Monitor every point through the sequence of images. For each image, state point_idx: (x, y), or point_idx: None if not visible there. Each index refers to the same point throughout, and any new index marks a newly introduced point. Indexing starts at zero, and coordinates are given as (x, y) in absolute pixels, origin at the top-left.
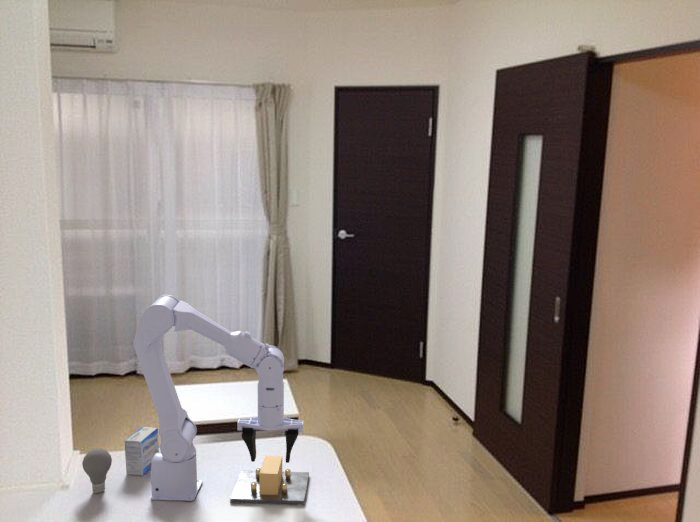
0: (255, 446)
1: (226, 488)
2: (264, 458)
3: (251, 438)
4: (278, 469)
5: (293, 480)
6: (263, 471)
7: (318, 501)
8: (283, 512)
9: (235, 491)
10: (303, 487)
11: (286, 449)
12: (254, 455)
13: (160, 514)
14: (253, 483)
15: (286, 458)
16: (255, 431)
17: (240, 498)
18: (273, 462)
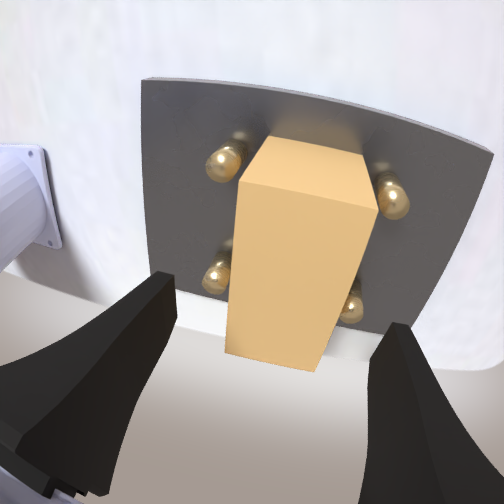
0: (134, 326)
1: (120, 185)
2: (237, 222)
3: (107, 483)
4: (323, 347)
5: (409, 208)
6: (243, 345)
7: (452, 315)
8: (330, 343)
9: (155, 247)
10: (433, 269)
11: (367, 456)
12: (161, 339)
13: (35, 277)
14: (212, 284)
15: (371, 390)
16: (65, 427)
17: (183, 289)
18: (302, 280)
